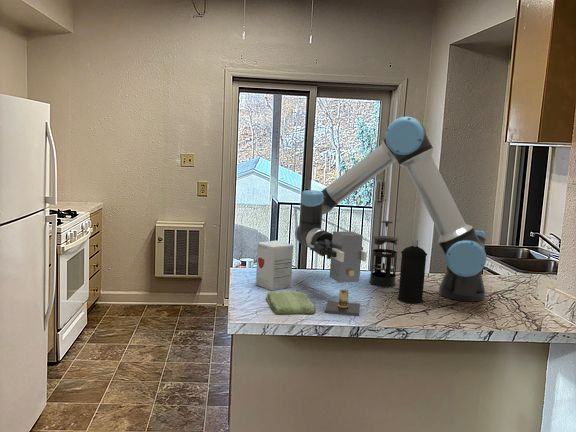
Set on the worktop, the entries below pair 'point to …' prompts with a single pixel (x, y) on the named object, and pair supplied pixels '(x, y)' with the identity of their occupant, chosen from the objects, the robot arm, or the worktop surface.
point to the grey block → (346, 256)
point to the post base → (339, 310)
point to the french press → (383, 277)
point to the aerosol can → (412, 274)
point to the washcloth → (290, 303)
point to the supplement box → (274, 265)
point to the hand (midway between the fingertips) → (354, 257)
